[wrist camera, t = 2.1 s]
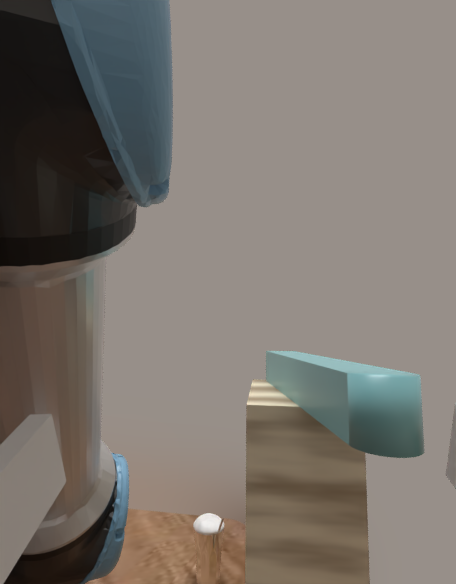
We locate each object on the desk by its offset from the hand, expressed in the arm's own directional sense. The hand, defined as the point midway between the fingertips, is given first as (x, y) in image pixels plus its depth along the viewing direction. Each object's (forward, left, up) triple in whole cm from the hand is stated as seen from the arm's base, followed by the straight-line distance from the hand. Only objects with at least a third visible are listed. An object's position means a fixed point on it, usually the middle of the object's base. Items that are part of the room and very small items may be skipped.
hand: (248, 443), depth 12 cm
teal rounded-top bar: (-13, +20, -3) cm, 24 cm away
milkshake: (-36, +25, -33) cm, 54 cm away
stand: (-18, +23, -33) cm, 44 cm away
